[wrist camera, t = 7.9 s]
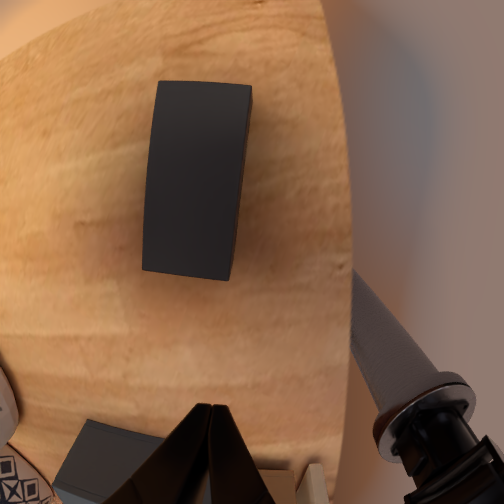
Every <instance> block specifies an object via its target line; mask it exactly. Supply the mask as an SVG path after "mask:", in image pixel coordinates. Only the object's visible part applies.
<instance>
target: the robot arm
mask: <svg viewBox="0 0 504 504" xmlns="http://www.w3.org/2000/svg"><path fill="white" fill-rule="evenodd" d="M468 407H469V403H468V401H460V402H453V403H447V404H439V405H431V406H422V407H419V408H417V409H416V410H415V411H414V413H413V415H412V417H411V419H410V420H409V422H408V424H407V426H406V428H405V429H404V431H403V433H402V435H401V436H400V438H399V440H398V441H397V443H396V445H395V446H394V448H393V450H392V451H391V453H392V456H394V457H395V456H400V458H401V460H402V463H403V465H404V468H405V470H406V472H407V475H408V476H409V477H413V480H414V482H415V485H416V487H417V489H416V490H415V491H413V492H412V493H409V494H407V495H405V496H404V501H405V504H504V454H503V452H502V451H501V450H500V448H499V447H498V446H497V445H496V444H495V443H494V442H493V441H492V440H491V439H490V438H489V437H488V436H487V435H485V436H484V437H483V438H482V440H481V441H480V442H479V440H478V439H477V437H476V436H475V434H474V432H473V431H472V430H471V428H470V427H469V425H468V424H467V422H466V421H465V419H464V418H463V415H464V414H465V412H466V410H467V408H468ZM492 459H493V461H492V462H491V463H488V462H490V461H491V460H492ZM208 476H209V479H210V492H211V504H276V503H275V501H274V499H273V498H272V496H271V494H270V492H268V488H267V487H266V485H265V483H264V481H263V479H262V477H261V475H260V473H259V471H258V469H257V467H256V465H255V463H254V461H253V459H252V457H251V455H250V453H249V451H248V449H247V447H246V445H245V443H244V440H243V438H242V436H241V434H240V432H239V430H238V428H237V425H236V423H235V421H234V419H233V417H232V415H231V412H230V410H229V408H228V406H227V405H220V404H214V405H213V406H212V405H211V404H207V403H197V404H196V405H195V406H194V407H193V408H192V410H191V411H190V412H189V413H188V414H187V415H186V416H185V417H184V419H183V420H182V421H181V422H180V423H179V424H178V425H177V426H176V428H175V429H174V430H173V431H172V432H171V433H170V434H169V435H168V436H167V438H166V439H165V440H164V441H163V442H162V443H161V444H160V445H159V446H158V447H157V448H156V450H155V451H154V452H153V453H152V454H151V455H150V456H149V457H148V458H147V459H146V460H145V461H144V462H143V464H142V465H141V466H140V467H139V468H138V469H137V470H136V471H135V472H134V473H133V474H132V475H131V478H128V479H127V480H126V481H125V482H124V483H123V484H122V485H121V486H120V487H119V488H118V489H117V490H116V491H115V492H114V493H113V494H112V495H111V496H110V497H109V498H107V499H106V500H105V501H104V502H102V503H101V504H202V503H203V498H204V494H205V490H206V485H207V481H208Z"/></svg>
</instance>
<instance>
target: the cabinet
mask: <svg viewBox="0 0 504 504" xmlns="http://www.w3.org/2000/svg"><path fill="white" fill-rule="evenodd" d="M164 440H165V439H163V438H158V437H153V436H148V435H144V434H140V433H135V432H131V431H127V430H123V429H119V428H116V427H112V426H108V425H105V424H101V423H98V422H95V421H92V420H88V419H87V421H86V423H85V424H84V426H83V428H82V430H81V431H80V433H79V435H78V437H77V439H76V440H75V442H74V444H73V446H72V448H71V449H70V451H69V453H68V455H67V457H66V459H65V460H64V462H63V464H62V466H61V468H60V470H59V472H58V473H57V475H56V477H55V480H54V481H53V483H52V487H53V489H54V490H55V492H56V493H57V495H58V496H59V498H60V499H61V501H62V502H63V504H101V503H102V502H104V501H105V500H106V499H107V498H109V497H110V496H111V495H112V494H113V493H114V492H115V491H116V490H117V489H118V488H119V487H120V486H121V485H122V484H123V483H124V482H125V481H126V480H127V479H128V478H131V475H132V474H133V473H134V472H135V471H136V470H137V469H138V468H139V467H140V466H141V465H142V464H143V462H144V461H145V460H146V459H147V458H148V457H149V456H150V455H151V454H152V453H153V452H154V451H155V450H156V448H157V447H158V446H159V445H160V444H161V443H162V442H163V441H164ZM202 504H211V492H210V479H209V476H208V481H207V485H206V490H205V494H204V498H203V503H202Z"/></svg>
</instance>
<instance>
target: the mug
mask: <svg viewBox="0 0 504 504" xmlns="http://www.w3.org/2000/svg"><path fill="white" fill-rule="evenodd" d="M18 415H19V413H18V410H17V406H16V402H15V398H14V394H13V391H12V389H11V386H10V384H9V382H8V379H7V377H6V376H5V374H4V372H3V370H2V369H1V367H0V450H1V449H2V448H3V447H4V445H5V444H6V443H7V442H8V441H9V440H10V438H11V437H12V436H13V434H14V432H15V430H16V427H17V425H18Z"/></svg>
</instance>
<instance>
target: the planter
mask: <svg viewBox="0 0 504 504" xmlns="http://www.w3.org/2000/svg"><path fill="white" fill-rule="evenodd" d="M52 500H53V493H52V491H51V489H50V487H49V486H48V484H47V483H46V481H45V480H44V479H43V478H42V476H41V475H40V474H39V473H38V472H37V471H36V470H35V469H34V468H33V467H32V466H31V465H30V464H29V463H28V462H27V461H26V460H25V459H24V458H23V457H21V456H20V455H19V454H18V453H17V452H16V451H15V450H13V449H12V448H11V447H10V446H9V445H7V444H5V445H4V447H3V448H2V449H1V450H0V504H51V503H52Z"/></svg>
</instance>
